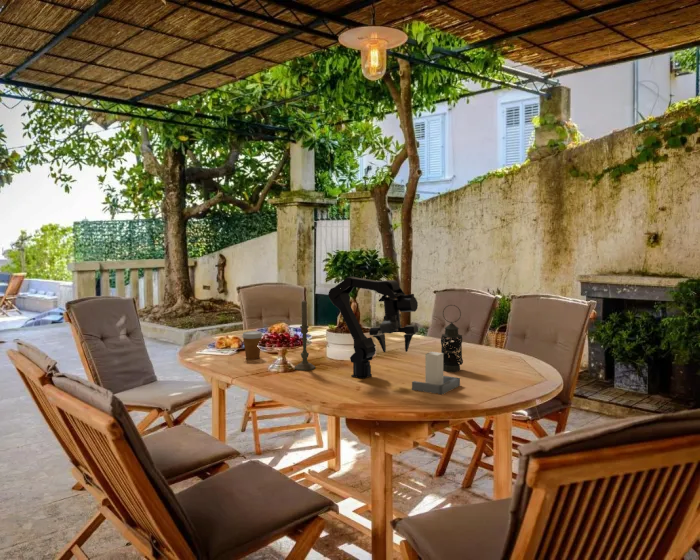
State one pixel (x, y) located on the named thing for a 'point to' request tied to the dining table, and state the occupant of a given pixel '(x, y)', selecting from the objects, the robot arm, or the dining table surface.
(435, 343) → the dining table surface
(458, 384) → the frame
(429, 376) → the post
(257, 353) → the disposable coffee cup
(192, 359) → the dining table surface
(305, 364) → the candlestick holder
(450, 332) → the lantern
